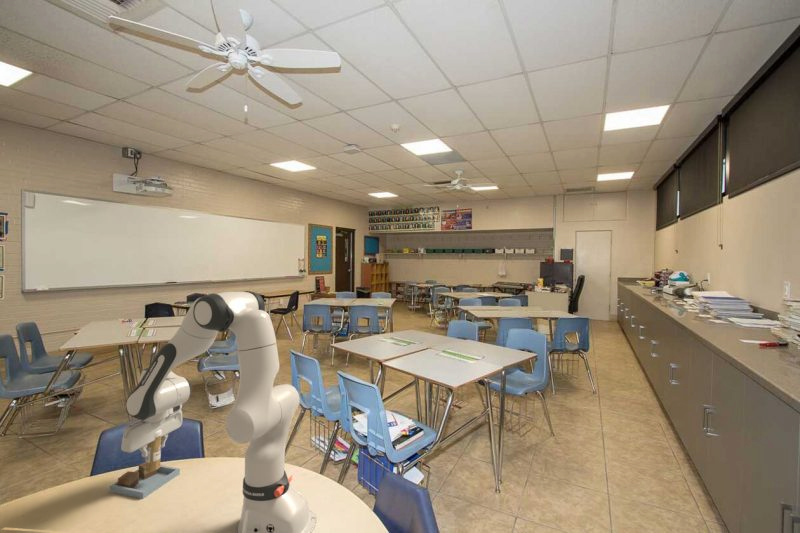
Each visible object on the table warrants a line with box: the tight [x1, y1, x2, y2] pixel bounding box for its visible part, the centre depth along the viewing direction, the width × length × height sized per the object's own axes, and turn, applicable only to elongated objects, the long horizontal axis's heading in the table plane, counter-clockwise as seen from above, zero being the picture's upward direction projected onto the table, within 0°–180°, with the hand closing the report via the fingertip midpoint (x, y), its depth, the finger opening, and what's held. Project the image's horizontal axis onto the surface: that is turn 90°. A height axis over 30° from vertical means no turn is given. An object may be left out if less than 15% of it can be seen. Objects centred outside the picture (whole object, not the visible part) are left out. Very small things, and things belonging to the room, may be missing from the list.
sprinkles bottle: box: [144, 430, 162, 472], centre depth 121 cm, size 5×5×13 cm
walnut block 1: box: [117, 470, 139, 488], centre depth 119 cm, size 4×4×4 cm
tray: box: [109, 464, 181, 499], centre depth 121 cm, size 14×14×2 cm
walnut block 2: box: [138, 461, 157, 480], centre depth 125 cm, size 4×4×4 cm
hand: (153, 451), depth 121 cm, fingers closed on sprinkles bottle, 4 cm apart
